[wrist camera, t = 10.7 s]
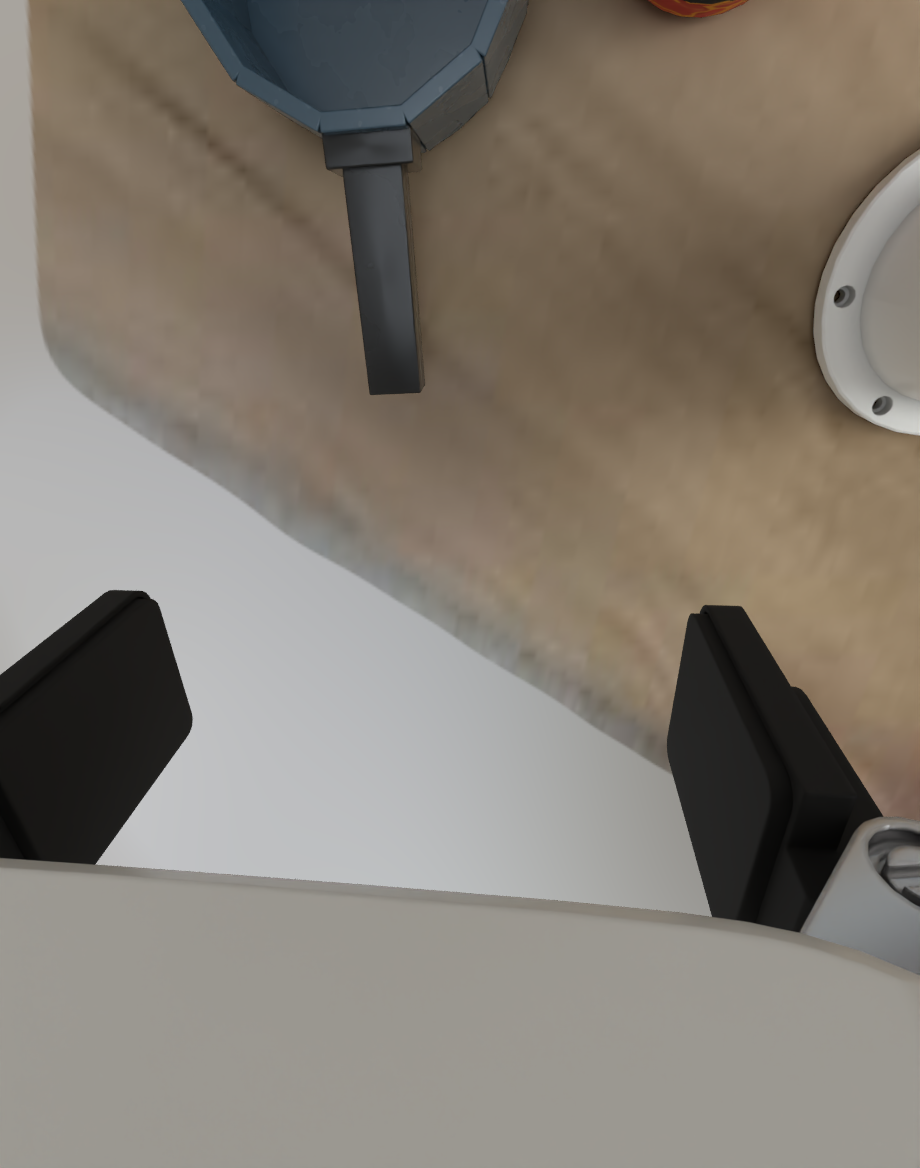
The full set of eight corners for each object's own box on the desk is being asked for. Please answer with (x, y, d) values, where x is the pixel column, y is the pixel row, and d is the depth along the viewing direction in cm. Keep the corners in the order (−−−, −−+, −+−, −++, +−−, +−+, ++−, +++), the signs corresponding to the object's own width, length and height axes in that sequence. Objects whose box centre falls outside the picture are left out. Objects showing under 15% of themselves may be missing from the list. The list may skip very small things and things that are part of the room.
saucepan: (526, -275, 20) (532, -474, 15) (529, 368, 30) (532, 392, 24) (197, -227, 21) (89, -396, 16) (301, 379, 31) (255, 404, 25)
